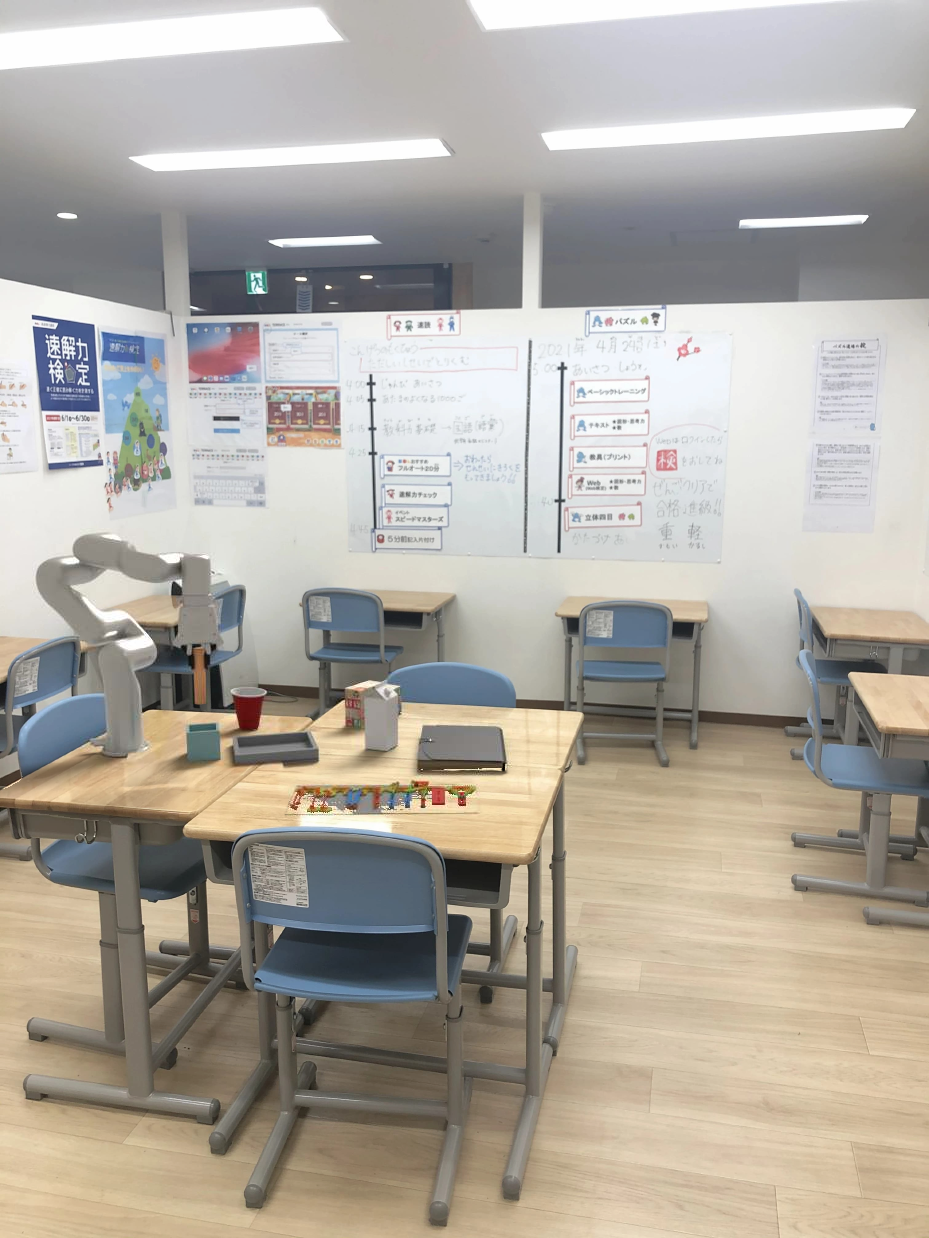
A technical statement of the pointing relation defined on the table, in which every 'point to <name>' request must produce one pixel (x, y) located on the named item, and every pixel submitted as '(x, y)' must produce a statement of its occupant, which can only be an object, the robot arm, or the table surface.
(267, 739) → the tray
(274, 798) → the table surface
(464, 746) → the file folder
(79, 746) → the table surface
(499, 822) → the table surface
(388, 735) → the milk carton
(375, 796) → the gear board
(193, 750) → the light blue open box
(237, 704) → the plastic cup
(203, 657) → the dowel pin
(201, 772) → the table surface
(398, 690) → the stack of blocks
